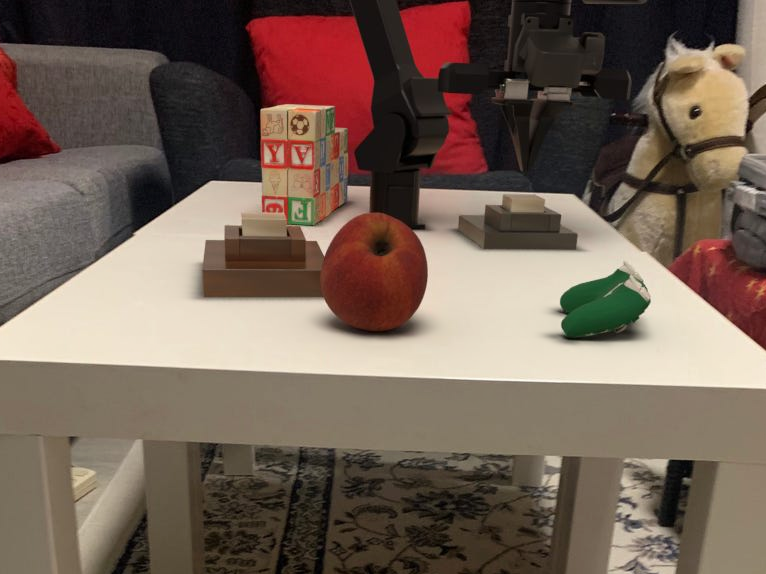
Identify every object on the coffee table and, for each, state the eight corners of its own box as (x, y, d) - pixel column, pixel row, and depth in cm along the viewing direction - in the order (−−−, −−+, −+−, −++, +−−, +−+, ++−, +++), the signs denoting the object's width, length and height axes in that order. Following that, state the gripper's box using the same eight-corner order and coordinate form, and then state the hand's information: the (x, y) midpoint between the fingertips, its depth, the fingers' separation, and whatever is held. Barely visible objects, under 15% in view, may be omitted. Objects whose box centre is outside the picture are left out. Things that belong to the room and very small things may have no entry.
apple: (314, 340, 63) (314, 218, 60) (326, 312, 70) (327, 202, 67) (424, 345, 63) (430, 223, 59) (425, 317, 70) (431, 206, 66)
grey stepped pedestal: (457, 230, 107) (459, 198, 106) (541, 231, 109) (544, 199, 107) (483, 249, 97) (486, 214, 95) (576, 250, 98) (580, 215, 97)
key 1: (241, 233, 80) (241, 212, 79) (284, 233, 80) (284, 212, 79) (242, 240, 76) (242, 218, 76) (286, 241, 77) (286, 219, 76)
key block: (206, 264, 85) (204, 219, 83) (316, 265, 86) (317, 220, 85) (203, 297, 73) (201, 245, 71) (330, 297, 75) (331, 246, 73)
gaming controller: (590, 367, 66) (662, 312, 63) (556, 326, 65) (628, 269, 63) (585, 333, 74) (649, 284, 72) (555, 297, 73) (618, 246, 71)
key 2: (501, 210, 101) (502, 194, 100) (533, 211, 102) (535, 194, 101) (510, 215, 98) (511, 198, 97) (543, 216, 98) (545, 199, 98)
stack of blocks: (302, 199, 127) (302, 100, 121) (348, 201, 126) (350, 103, 121) (261, 222, 107) (259, 107, 102) (314, 225, 107) (315, 109, 101)
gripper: (467, -6, 83) (455, 178, 89) (665, 4, 86) (640, 182, 92) (441, 0, 93) (432, 166, 99) (619, 9, 96) (599, 170, 102)
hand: (525, 171), depth 98 cm, fingers closed
